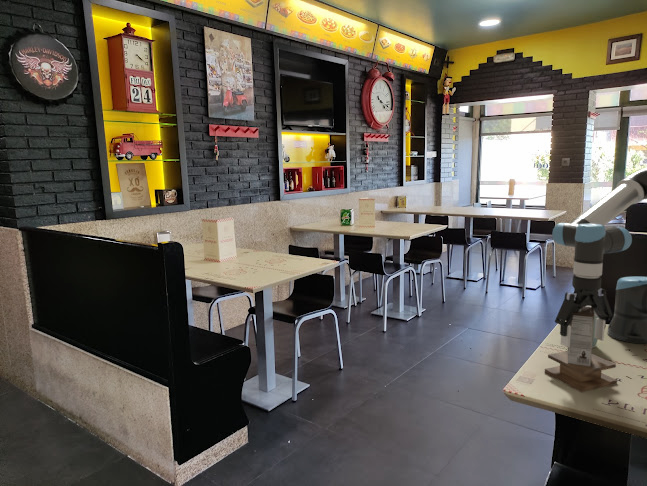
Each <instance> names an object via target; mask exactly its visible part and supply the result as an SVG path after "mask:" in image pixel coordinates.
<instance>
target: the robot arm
mask: <svg viewBox="0 0 647 486" xmlns="http://www.w3.org/2000/svg"><path fill="white" fill-rule="evenodd" d="M643 200H647V166H646V167H644V168H640V169H639V170H637V171H634V172H632V173H631V174H629V175H626V177H624V178H623V179H621V180H620V181H618V182H617V183H616V185H615V188H613V190H612V191H610V192H609V193H607V194H606V195H605V196H603V197H602V198H601V199H600V200H598V201H597V202H595V203H594V204H593V205H592V206H590V207H588V208H587V209H586V210H584V211H583V212H582V213H581V214H579V215H578V216H577V217H575V218H574V219H573V220H572V221H570V222H569V223H568V222H559V223H556V225H554V228H553V229H552V234H551V235H552V240H553V242H555V244H557V245H561V246H565V247H571V248H574V257H573V268H572V269H573V271H572V273H573V275H572V283H571V285H572V288H573V289H574V290H573V292H568V291H566V292H565V293H564V299H563V302H562V304H561V305H560V308H559V311H558V313H557V316H556V317H555V320H554V323H555V324H557V325H560V328H559V330H560V331H559V334H560V345H561V346H564V347H565V348H568V347H570V334H571V326H569V324H570V323H571V321H572V320H573V314H574V313H577V312H578V311H579V309H582V308H583V307H585V306H587V305H589V306H591V307H593V309H594V311H595V313H596V314H597V316H598V317H599V318H596V322H595V335H594V338H596V339H598V340H599V341H602V342H603V341H605V330H606V327H607V331H606V332H607V335H608V336H610V337H611V338H612V339H615V340H618V341H622V342H625V343H627V342H628V343H633V344H647V276H624V277H620V278H619V279H618V280H617V283H616V288H615V298H614V299H615V302H614V312H612V309H611V306H610V304H609V300H608V297H607V290H606V289H604V288H602V277H601V276H602V275H603V265H604V264H603V260H604V255H606V254H613V253H620V252H622V251H626V250H627V249H629V248H630V246H631V245H632V242H633V238H632V234H631V233H630V231H629V230H628V229H626V228H624V227H622V226H621V227H616V226H613V227H605V226H606V225H607V224H609V223H610V222H611V221H613V220H614V219H615V218H616V217H617V216H619V215H620V214H621V213H623V212H624V211H625V210H626V209H628V208H629V207H630V206H632V205H635V204H639V203H641V202H642V201H643ZM571 313H572V315H571ZM611 317H612V318H611ZM607 321H610V322H609V324H608V326H606V324H607Z"/></svg>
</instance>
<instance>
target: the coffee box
mask: <svg viewBox="0 0 647 486" xmlns="http://www.w3.org/2000/svg"><path fill="white" fill-rule="evenodd" d="M571 315H572V313H571ZM569 326H571V334H570V347H567V351H568V363H570V364H577V365H583V366H591V354H593V351H592V350H593V348H592V342H593V329H594V309H593V307H583V308H582V309H579V311H578V312H577V313H574V314H573V320H572V321H571V323H570V324H569Z"/></svg>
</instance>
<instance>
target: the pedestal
mask: <svg viewBox="0 0 647 486" xmlns="http://www.w3.org/2000/svg"><path fill="white" fill-rule="evenodd" d="M547 359H550V360H552V361H554V362H556V363H558V364H559V365H557V366H553V367H548V368H545V369H544V373H545V374H546V375H548V376H551V378H554V379H556V380H558V381H559V382H562V383H563V384H565V385H567V386H569V387H571V388H573V389H575V390H576V391H578V392H581V393H584V392H589V391H592V390H597V389H600V388H601V389H602V388H605V387H609V386H615V385H617V384H618V379H615V378H614V377H611V376H609V375H607V374H605V373H603V372H602V371H605V370H609V369H610V370H611V369H614V368H616V367H617V366H616V365H617V364H616V363H614V362H612V361H610V360H607V359H605V358H602V357H600V356H597V355H595V354H593V353H592V354H591V366H583V365H577V364H570V363H568V350H565V351H560V352H555V353H548V354H547Z"/></svg>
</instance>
